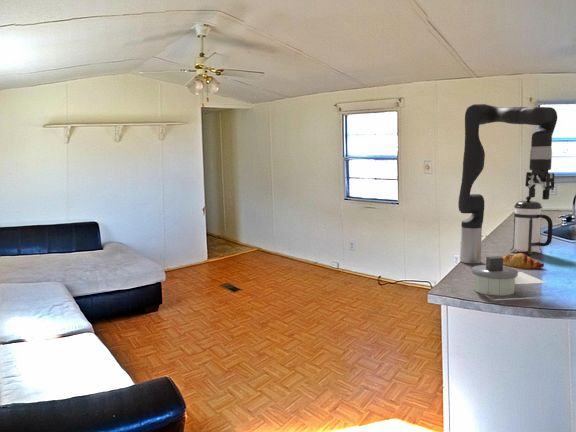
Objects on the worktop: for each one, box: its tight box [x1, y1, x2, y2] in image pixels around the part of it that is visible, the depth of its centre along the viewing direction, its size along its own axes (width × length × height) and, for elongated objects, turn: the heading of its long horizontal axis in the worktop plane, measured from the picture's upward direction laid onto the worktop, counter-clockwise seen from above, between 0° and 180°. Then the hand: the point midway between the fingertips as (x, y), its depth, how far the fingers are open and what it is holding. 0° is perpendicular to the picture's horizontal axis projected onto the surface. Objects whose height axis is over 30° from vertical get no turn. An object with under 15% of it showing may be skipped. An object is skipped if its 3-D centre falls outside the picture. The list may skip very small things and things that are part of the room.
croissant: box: [499, 252, 545, 270], centre depth 201 cm, size 21×10×8 cm
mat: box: [515, 271, 547, 285], centre depth 181 cm, size 16×16×1 cm
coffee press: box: [510, 195, 553, 257], centre depth 225 cm, size 17×16×30 cm
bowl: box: [473, 274, 516, 296], centre depth 166 cm, size 14×14×7 cm
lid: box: [471, 256, 518, 279], centre depth 166 cm, size 16×16×6 cm
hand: (538, 198), depth 175 cm, fingers open, 8 cm apart
